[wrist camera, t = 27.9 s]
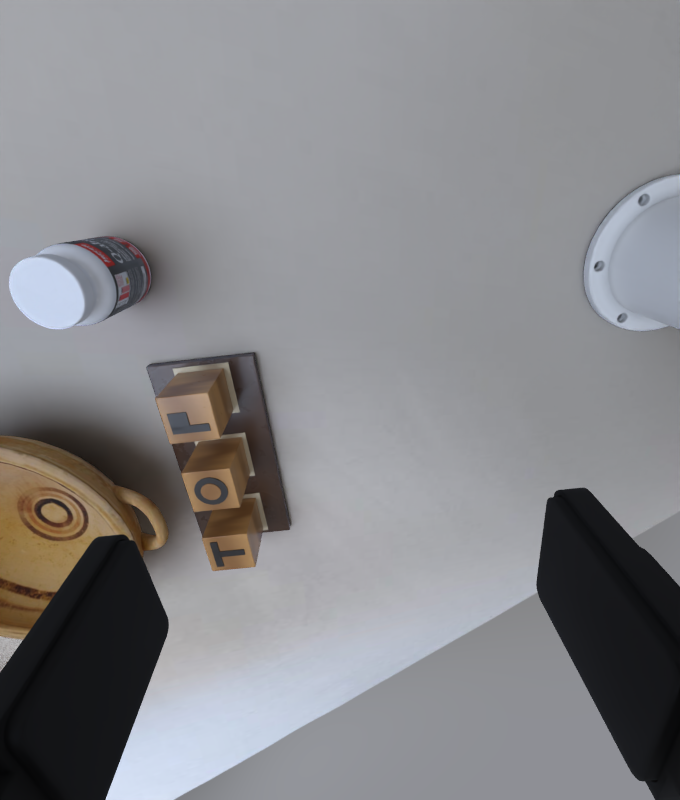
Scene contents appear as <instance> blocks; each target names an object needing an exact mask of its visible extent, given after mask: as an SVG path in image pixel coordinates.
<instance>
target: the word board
mask: <svg viewBox="0 0 680 800" xmlns="http://www.w3.org/2000/svg"><path fill="white" fill-rule="evenodd" d="M146 368H147V371H148V374H149V377H150V380H151V383H152V386H153V389H154V392H155V395H156V397H157V396H158V395H159V393H160V392H161V391H162V390H163V389H164V388H165V387H166V386H167V384H168V383H169V382H170V381H171V380H172V379H173V378H174V376H175V375H176V374H177V373H186V372H195V371H204V370H213V369H222V368H223V369H224V373H225V377H226V381H227V385H228V389H229V393H230V397H231V401H232V405H233V412H232V414H231V417H230V419H229V421H228V423H227V425H226V427H225V430H224V432H223V434H222V436H221V438H220V439H228V438H237V437H242V441H243V445H244V449H245V453H246V457H247V461H248V465H249V469H250V476H249V479H248V482H247V486H246V489H245V493H244V496H243V499H246V498H256V501H257V505H258V509H259V513H260V517H261V521H262V525H263V532H273V531H283V530H290V521H289V516H288V511H287V506H286V502H285V497H284V492H283V487H282V483H281V478H280V473H279V468H278V463H277V459H276V454H275V449H274V444H273V440H272V435H271V430H270V425H269V420H268V416H267V411H266V406H265V401H264V396H263V392H262V387H261V382H260V377H259V373H258V368H257V363H256V358H255V353H246V354H237V355H228V356H219V357H211V358H202V359H193V360H184V361H175V362H166V363H157V364H150V365H148V366H147V367H146ZM214 440H218V439H214ZM205 441H209V440H205ZM198 442H200V441H195V442H186V443H176V444H172V446H173V449H174V452H175V455H176V458H177V461H178V464H179V467H180V470H181V473H182V471H183V469H184V468H185V466H186V464H187V462H188V460H189V458H190V457H191V455H192V453H193V451H194V449H195V447H196V446H197V444H198ZM194 513H195V516H196V519H197V522H198V525H199V528H200V531H201V534H202V537H203V534H204V531H205V529H206V526H207V523H208V521H209V518H210V516H211V513H212V510H209V511H199V512H194ZM263 532H262V533H263Z"/></svg>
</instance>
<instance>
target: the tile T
mask: <svg viewBox="0 0 680 800" xmlns="http://www.w3.org/2000/svg"><path fill="white" fill-rule="evenodd" d="M262 532H263V525H262V521H261V517H260V513H259V509H258V505H257V501H256V498H246V499H242V503H241V506H240V507H238V508H229V509H219V510H212V513H211V516H210V518H209V521H208V523H207V526H206V529H205V531H204V534H203V537H202V541H203V544H204V547H205V550H206V553H207V556H208V558H209V561H210V564H211V567H212V570H213V571H218V570H228V569H239V568H249V567H255V566H256V562H257V557H258V552H259V547H260V542H261V537H262Z"/></svg>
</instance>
